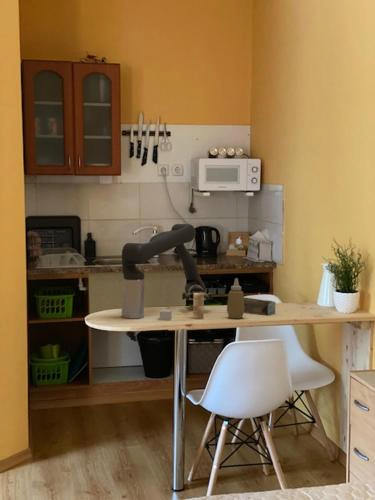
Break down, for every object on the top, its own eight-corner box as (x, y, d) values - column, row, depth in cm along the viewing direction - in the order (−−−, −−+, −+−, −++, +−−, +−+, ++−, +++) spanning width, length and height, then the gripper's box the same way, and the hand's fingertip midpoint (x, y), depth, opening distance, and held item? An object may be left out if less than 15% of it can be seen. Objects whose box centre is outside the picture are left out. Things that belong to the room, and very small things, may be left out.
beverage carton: (267, 316, 299) (268, 302, 299) (232, 311, 310) (232, 298, 310) (275, 314, 306) (276, 300, 305) (240, 309, 317) (241, 296, 316)
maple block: (193, 318, 288) (193, 294, 287) (193, 316, 292) (193, 292, 291) (203, 318, 288) (203, 294, 287) (202, 317, 292) (203, 293, 292)
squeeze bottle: (248, 318, 292) (249, 278, 290) (235, 320, 286) (236, 279, 285) (235, 315, 298) (236, 276, 296) (222, 317, 293) (223, 278, 291)
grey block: (159, 320, 283) (159, 311, 283) (160, 318, 288) (160, 309, 288) (170, 320, 283) (171, 311, 282) (171, 318, 288) (171, 309, 287)
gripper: (182, 285, 316) (182, 290, 300) (210, 285, 317) (213, 290, 301) (181, 300, 317) (182, 306, 301) (210, 301, 317) (212, 306, 301)
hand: (197, 298), depth 301 cm, fingers open, 8 cm apart
